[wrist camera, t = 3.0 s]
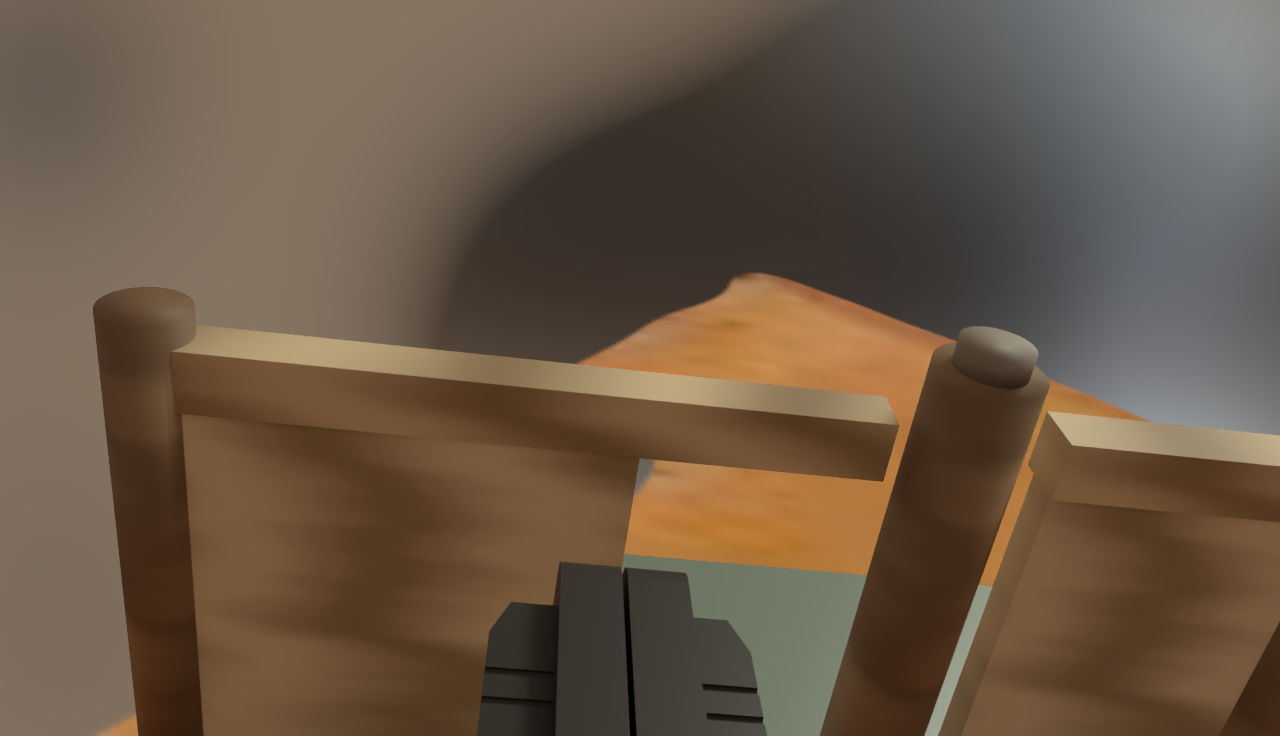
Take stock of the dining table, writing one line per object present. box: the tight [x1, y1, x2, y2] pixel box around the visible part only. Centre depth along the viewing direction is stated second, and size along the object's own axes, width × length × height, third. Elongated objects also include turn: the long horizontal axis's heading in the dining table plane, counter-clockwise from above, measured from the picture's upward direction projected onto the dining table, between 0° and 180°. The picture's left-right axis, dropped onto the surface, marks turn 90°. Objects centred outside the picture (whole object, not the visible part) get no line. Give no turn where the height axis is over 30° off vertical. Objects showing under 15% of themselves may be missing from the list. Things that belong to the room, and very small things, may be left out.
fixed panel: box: [938, 411, 1280, 736], centre depth 27 cm, size 8×2×15 cm, turn 92°
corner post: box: [820, 326, 1050, 736], centre depth 26 cm, size 2×2×16 cm
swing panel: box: [93, 287, 899, 736], centre depth 25 cm, size 16×2×14 cm, turn 92°
